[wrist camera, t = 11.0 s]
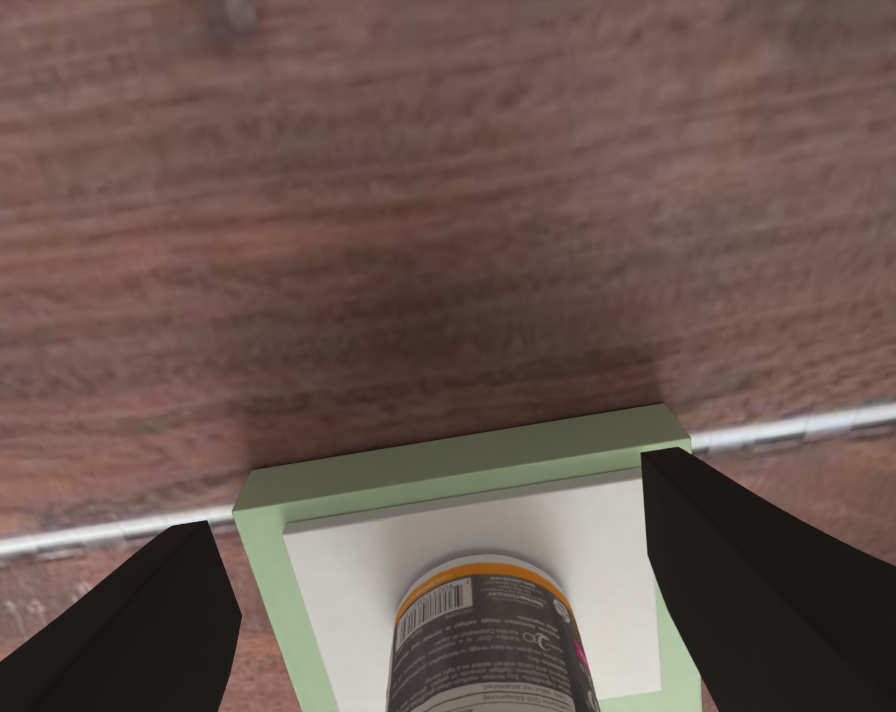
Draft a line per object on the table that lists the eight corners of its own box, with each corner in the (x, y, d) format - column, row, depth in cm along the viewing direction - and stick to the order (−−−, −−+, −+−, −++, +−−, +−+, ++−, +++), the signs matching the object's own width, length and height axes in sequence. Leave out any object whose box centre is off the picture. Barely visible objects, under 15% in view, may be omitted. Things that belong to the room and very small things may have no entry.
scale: (334, 721, 27) (321, 800, 24) (251, 469, 22) (223, 527, 19) (680, 671, 26) (711, 746, 23) (664, 402, 22) (701, 451, 19)
